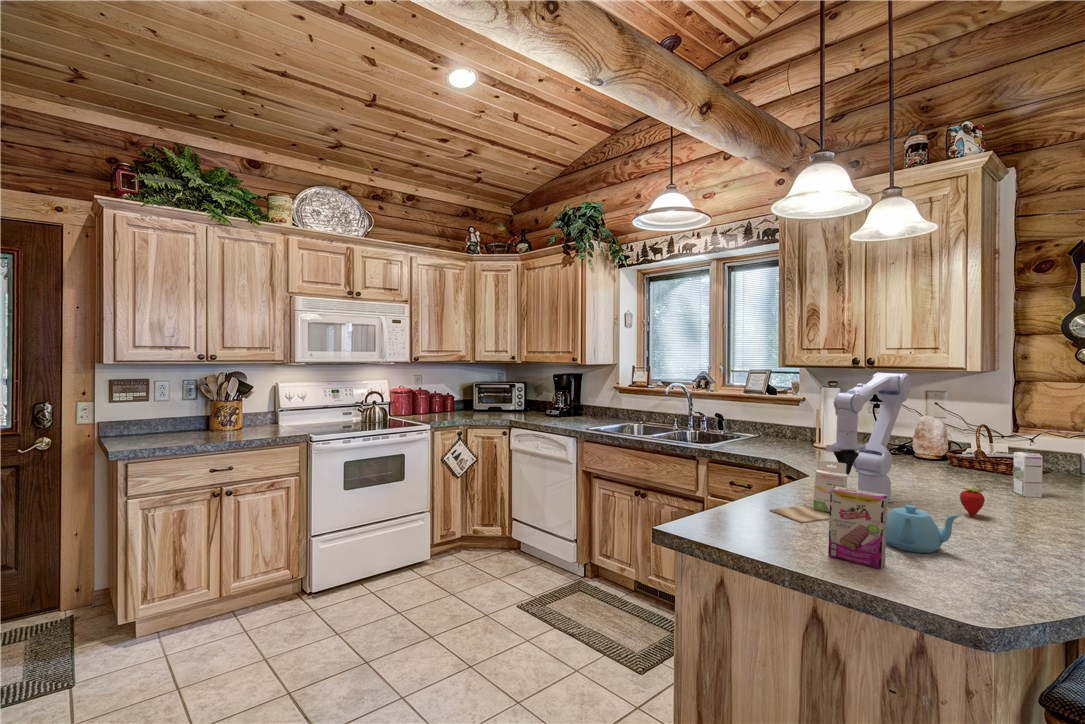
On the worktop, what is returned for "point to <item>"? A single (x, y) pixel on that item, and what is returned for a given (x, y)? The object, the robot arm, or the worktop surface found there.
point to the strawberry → (972, 500)
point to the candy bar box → (858, 526)
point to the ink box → (827, 482)
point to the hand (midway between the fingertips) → (845, 473)
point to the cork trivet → (802, 514)
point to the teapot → (916, 530)
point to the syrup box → (1027, 474)
